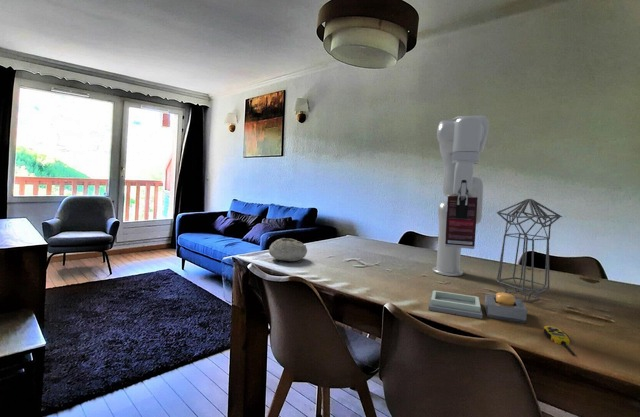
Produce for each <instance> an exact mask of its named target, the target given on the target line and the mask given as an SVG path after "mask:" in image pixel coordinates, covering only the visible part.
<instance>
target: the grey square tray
mask: <svg viewBox="0 0 640 417" xmlns="http://www.w3.org/2000/svg"><path fill="white" fill-rule="evenodd" d="M429 299H430V300H429V303H428V311H433V312H438V313H445V314H451V315H455V314H456V315H455V316H461V317H469V318H473V319H479V320H482V319H483V312H482V306H481V302H480V297H479V296H476V295H469V294H461V293H456V292H448V291H441V290H434V289H433V290H432V292H431V295H430V298H429Z"/></svg>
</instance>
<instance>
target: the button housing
mask: <svg viewBox="0 0 640 417" xmlns="http://www.w3.org/2000/svg"><path fill="white" fill-rule="evenodd" d="M484 296H485V297H484V310H485V314H486V318H490V319H495V320H501V321H506V322H507V321H508V322H514V323H519V324H527V318H528V317H527V316H528V315H527V314H528V309H527V307H526V306H525V303H524V301H523V300H521V299H522V298H520V299H517V298H515V303H514V306H512V305H505V304H499V303H496V294H495V295H494V294H493V295H492V294H487V293H485V295H484Z"/></svg>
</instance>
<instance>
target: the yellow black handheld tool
mask: <svg viewBox="0 0 640 417" xmlns="http://www.w3.org/2000/svg"><path fill="white" fill-rule="evenodd" d="M543 334H544V335H545V337H546V338H548V339H549V340H551V342H554V343H555V344H557V343H558V345H561V346H563V347H564V348H566V350H567V351H568V352H569V353H570V354H571V355H572V356H575V355H576V353H574V351H573V350H572V349H571V348H570V347H569V346H570V337H569V335H568V334H567V333H566V332H565V331H563V330H561V329H560V328H558V327H557V326H551V325H545V326H544V327H543Z"/></svg>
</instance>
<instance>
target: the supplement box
mask: <svg viewBox="0 0 640 417" xmlns="http://www.w3.org/2000/svg"><path fill="white" fill-rule="evenodd" d="M477 200H478V198H477V197H468V199H467V206H468V210H467V218H466V219H461V218H456V205H457V202H458V196H448V197H447V200H446V201H447V215H446V233H445V247H456V248H461V249H467V250H468V249H469V250H471V249H472V250H474V249H475V247H476V246H475V245H476V244H475V243H476V229H477V224H476V217H477ZM459 202H460V200H459Z"/></svg>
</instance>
